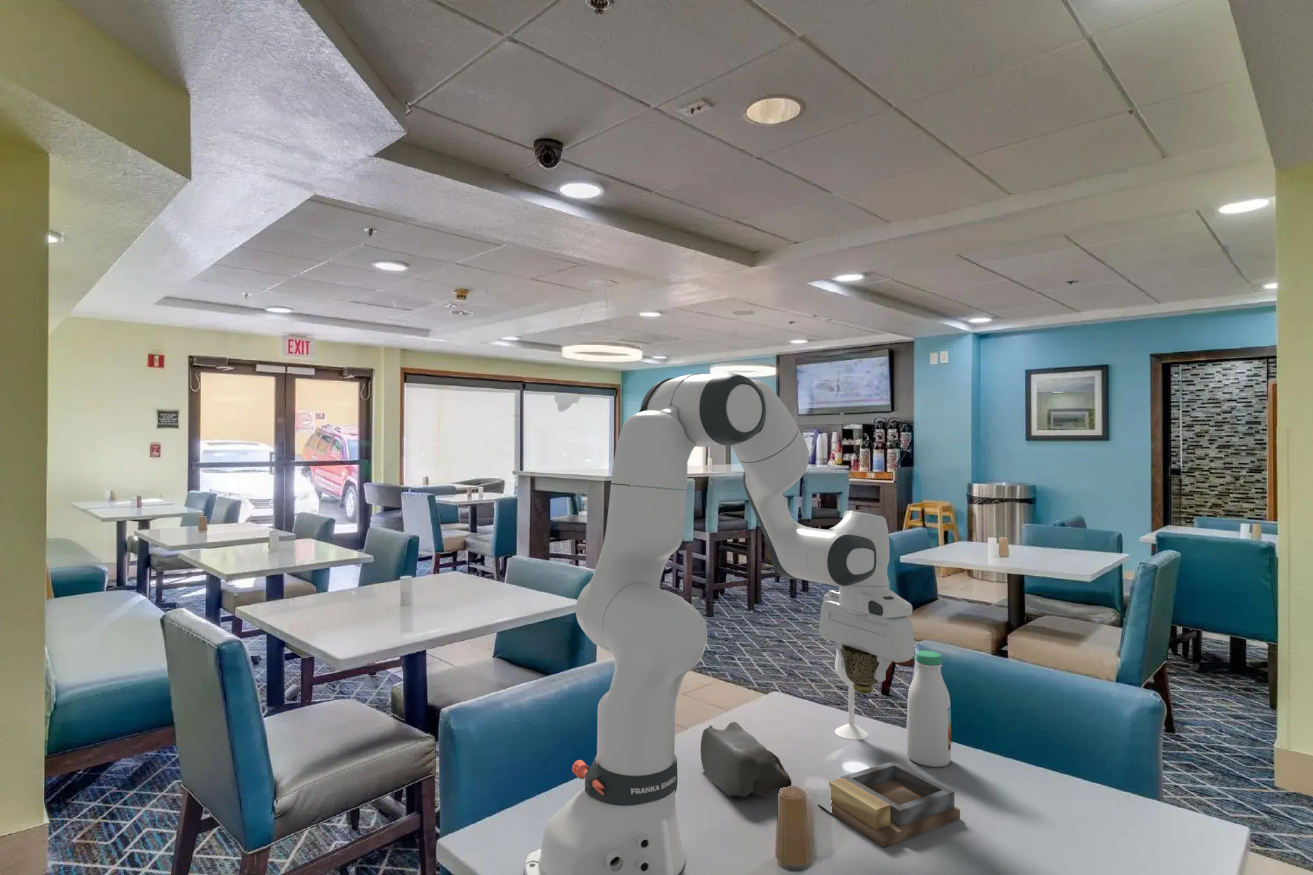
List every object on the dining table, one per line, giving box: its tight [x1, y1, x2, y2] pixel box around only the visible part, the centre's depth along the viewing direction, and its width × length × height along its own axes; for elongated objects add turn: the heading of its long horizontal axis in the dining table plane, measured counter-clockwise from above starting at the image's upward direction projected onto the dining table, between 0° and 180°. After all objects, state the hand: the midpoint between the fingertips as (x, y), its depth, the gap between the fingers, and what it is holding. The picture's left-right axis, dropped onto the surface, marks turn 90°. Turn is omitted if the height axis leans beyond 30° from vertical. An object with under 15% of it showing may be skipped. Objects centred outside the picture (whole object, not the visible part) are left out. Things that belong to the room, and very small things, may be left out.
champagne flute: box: [834, 649, 869, 741], centre depth 145 cm, size 7×7×24 cm
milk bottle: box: [906, 650, 952, 768], centre depth 133 cm, size 8×8×20 cm
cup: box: [843, 645, 880, 695], centre depth 128 cm, size 8×7×8 cm
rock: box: [700, 721, 792, 798], centre depth 123 cm, size 18×11×8 cm, turn 22°
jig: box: [828, 760, 961, 849], centre depth 113 cm, size 17×14×4 cm
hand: (862, 673), depth 128 cm, fingers closed on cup, 6 cm apart
